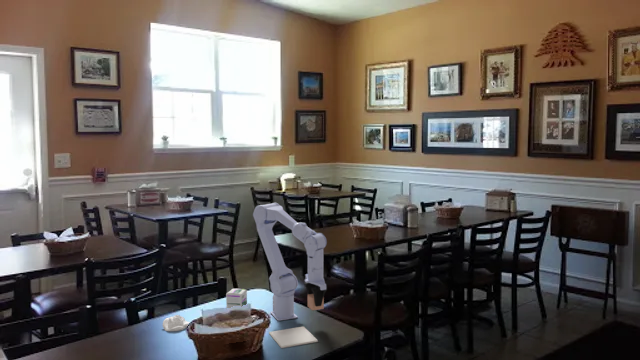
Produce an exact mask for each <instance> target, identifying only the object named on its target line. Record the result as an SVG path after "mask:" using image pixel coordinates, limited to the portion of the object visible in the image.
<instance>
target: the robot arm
mask: <svg viewBox="0 0 640 360" xmlns="http://www.w3.org/2000/svg"><path fill="white" fill-rule="evenodd" d="M252 217H253V219H254V221H255V225H256V230H257V234H258V236H259V239H260V241H261V244H262V247H263V251H264V252H265V255H266V258H267V261H268V263H269V266H270V269H271V271H272V272H271V275H270V276H269V278H268V279H269V283H270V291H271V292H272V293H273V295H272V311H270V314H271V315H272V316H273V317H274V318H275V320H277V321H278V322H280V321H286V320H291V319H297V318H298V316H297V314H295V305H294V304H295V303H294V302H295V299H294V298H295V297H294V296H295V292H296V289H297V288H298V286H299V282H298V278H297V276H296V275H295V274H294V272H293V270H292V269H290V268H288V267H287V265H286V264H285V262H284V261H285V260H284V258H283V255H282V253H281V250H280V248H279V245H278V241H277V239H276V236H275V234H274V230H273V228H274V226H275V225H276V224H277V222H279V223H281V224H282V225H283V226H285V227H286V228H288V229H289V230H291V233H292V236H294V237H295V239H297V240H298V241H300V242H302V244H304V245H303V246H304V248H305V251H306V255H307V273H306V274H304V276H305V278H304V283H303V284H304V286H305V289H306V291H307V295H308V294H313V295H314V302H315V306H316V307H317V306H321V305H322V301H323V297H324V296H325V294H326V292H327V291H328V286H327V283H326V281H325V278H324V249H325V248H326V246H327V243H328V241H327V238H326V236H325V234H324V233H322V232H316V231H315V230H314V229H312V228H310V227H308V225H307V223H306V222H301V221H300V222H297V221H296V220H295V219H294V218H293V217H291V215H290V214H288V212H286V211H285V210H284V207H283V205H280V203H277V202H272V203H266V204H260V205H259V204H257V205H256V206H255V208H254V210H253V213H252ZM324 298H325V297H324Z"/></svg>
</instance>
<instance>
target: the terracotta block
mask: <svg viewBox="0 0 640 360" xmlns="http://www.w3.org/2000/svg"><path fill="white" fill-rule="evenodd" d="M324 299H325V297H323V301H322V305H321V306H317V307H316V306H315V302H314V295H313V294H308V293H307V307H308V308H309V309H310V310H311V311H319V310H324V308H325V307H324V303H325V302H324V301H325V300H324Z"/></svg>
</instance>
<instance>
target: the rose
mask: <svg viewBox="0 0 640 360" xmlns="http://www.w3.org/2000/svg"><path fill="white" fill-rule="evenodd" d="M189 323H190V324H191V322H190V321H187V320H186V319H185V318H184V316H182V315H180V314H176V315H173V316H169V317H166V318H165V319H164V320H163V321H162V328H163V330H164V331H166V332H179V331H183V330H185V329H186V328H187V326H188V324H189ZM188 327H189V326H188Z"/></svg>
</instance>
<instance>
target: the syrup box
mask: <svg viewBox="0 0 640 360" xmlns="http://www.w3.org/2000/svg"><path fill="white" fill-rule="evenodd" d="M247 294H248V293H247V289H246V288H231V290H228V292H226V294H225V297H226V300H225V302H226V309H227V308H231V307H233V306H241V307H242V306H243V305H246V304H247V305H248V298H247V297H248V295H247Z"/></svg>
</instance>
